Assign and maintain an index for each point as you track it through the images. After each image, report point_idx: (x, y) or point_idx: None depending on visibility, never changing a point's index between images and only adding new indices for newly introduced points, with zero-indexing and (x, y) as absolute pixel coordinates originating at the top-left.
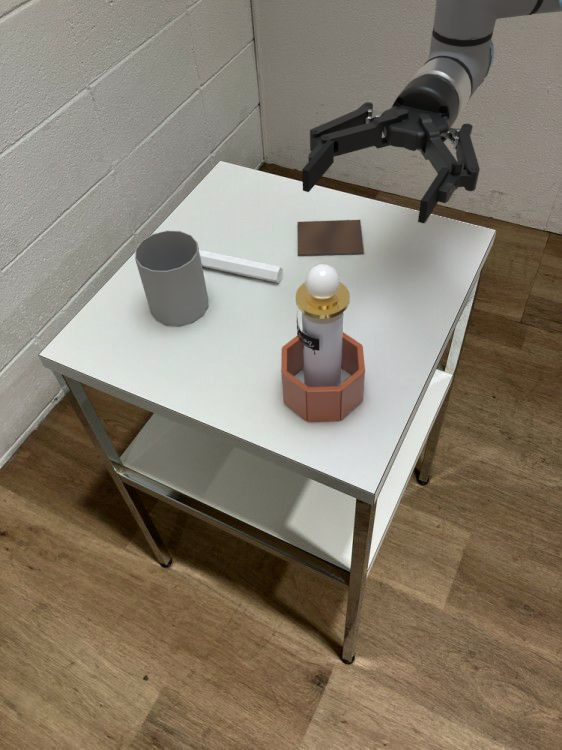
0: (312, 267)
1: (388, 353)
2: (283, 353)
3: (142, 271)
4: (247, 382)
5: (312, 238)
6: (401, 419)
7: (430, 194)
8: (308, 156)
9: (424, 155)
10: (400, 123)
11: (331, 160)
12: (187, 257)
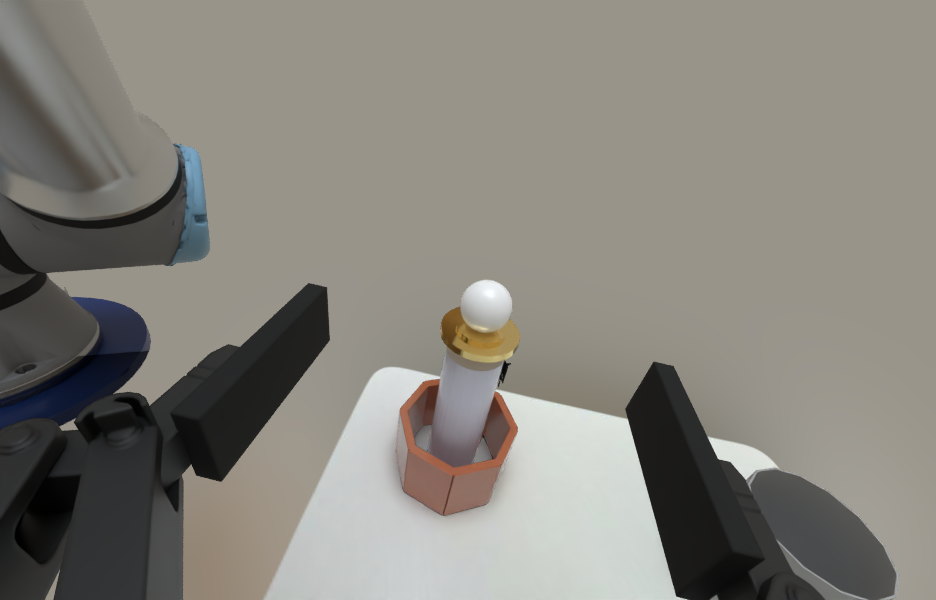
0: (509, 300)
1: (360, 553)
2: (511, 419)
3: (791, 480)
4: (542, 454)
5: None
6: (344, 434)
7: (294, 302)
8: (732, 465)
9: None
10: None
11: (679, 563)
12: None
